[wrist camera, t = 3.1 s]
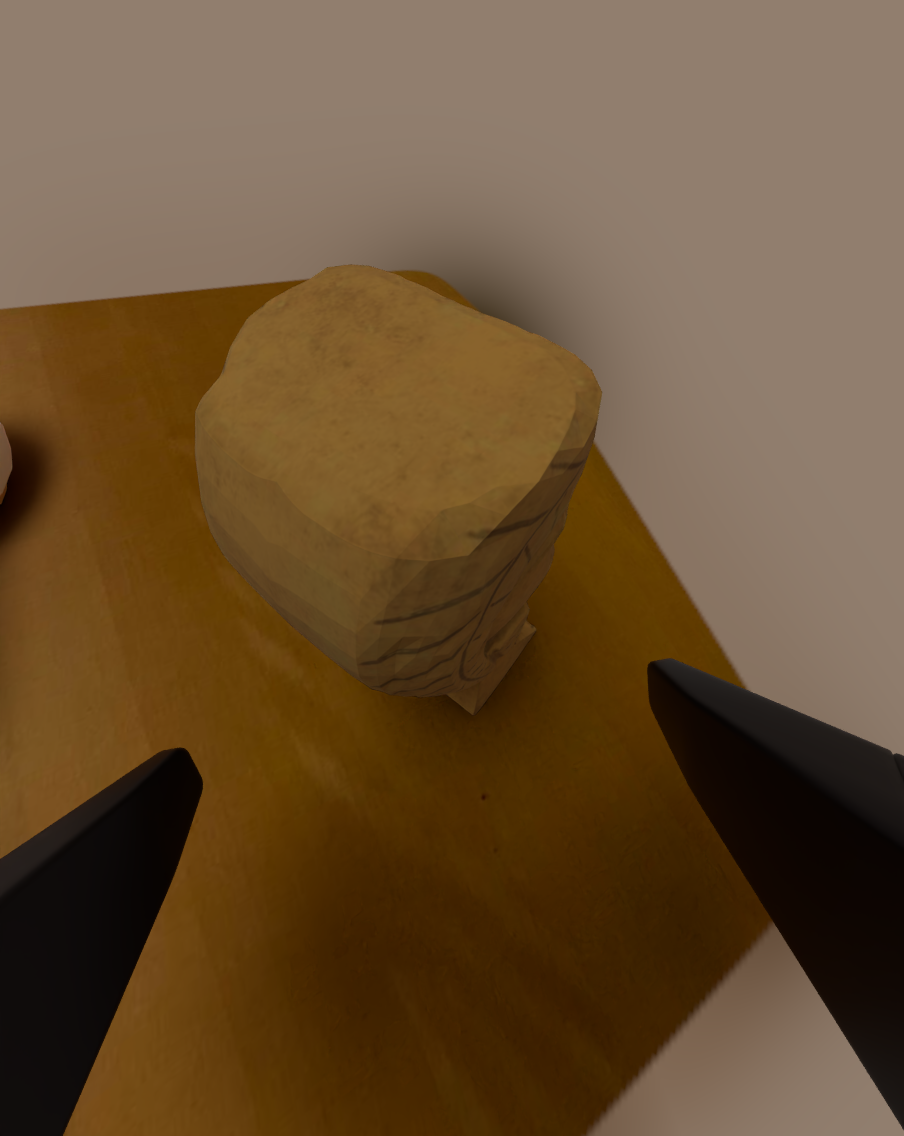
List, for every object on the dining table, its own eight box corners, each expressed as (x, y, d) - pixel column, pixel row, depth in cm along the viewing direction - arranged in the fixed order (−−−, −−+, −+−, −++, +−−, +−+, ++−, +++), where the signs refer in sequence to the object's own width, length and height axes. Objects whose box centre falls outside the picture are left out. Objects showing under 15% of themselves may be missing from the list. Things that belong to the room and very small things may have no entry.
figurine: (556, 633, 20) (640, 367, 7) (468, 754, 19) (349, 715, 5) (440, 553, 23) (333, 240, 9) (353, 654, 21) (70, 451, 8)
